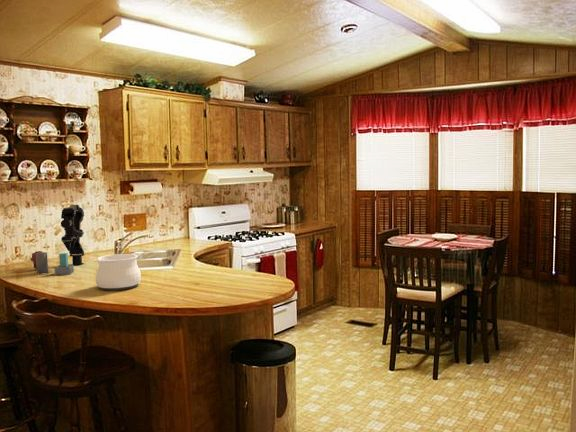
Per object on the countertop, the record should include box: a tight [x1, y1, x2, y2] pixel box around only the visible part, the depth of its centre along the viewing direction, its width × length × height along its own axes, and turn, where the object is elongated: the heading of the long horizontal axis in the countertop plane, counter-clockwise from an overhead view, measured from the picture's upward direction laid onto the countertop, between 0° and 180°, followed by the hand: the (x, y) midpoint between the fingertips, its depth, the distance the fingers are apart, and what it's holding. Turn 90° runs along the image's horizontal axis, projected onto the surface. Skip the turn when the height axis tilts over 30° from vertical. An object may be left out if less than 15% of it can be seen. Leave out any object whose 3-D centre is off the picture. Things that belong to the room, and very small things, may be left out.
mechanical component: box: [30, 250, 43, 271], centre depth 353 cm, size 12×10×10 cm
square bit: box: [58, 252, 69, 267], centre depth 338 cm, size 4×4×13 cm
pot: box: [92, 252, 142, 292], centre depth 296 cm, size 28×24×17 cm
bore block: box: [54, 263, 75, 276], centre depth 338 cm, size 9×9×5 cm
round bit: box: [36, 251, 49, 275], centre depth 341 cm, size 7×7×13 cm
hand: (70, 249), depth 353 cm, fingers open, 9 cm apart
